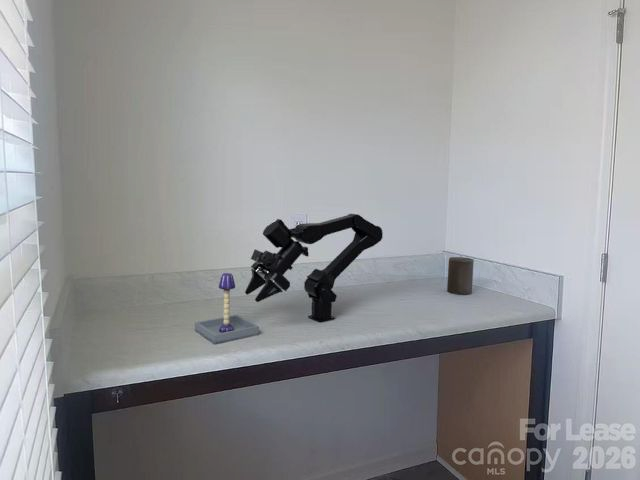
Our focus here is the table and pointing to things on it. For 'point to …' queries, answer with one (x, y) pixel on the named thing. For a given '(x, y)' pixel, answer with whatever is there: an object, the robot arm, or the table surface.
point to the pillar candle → (460, 275)
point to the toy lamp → (226, 300)
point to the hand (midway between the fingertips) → (250, 297)
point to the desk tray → (212, 333)
